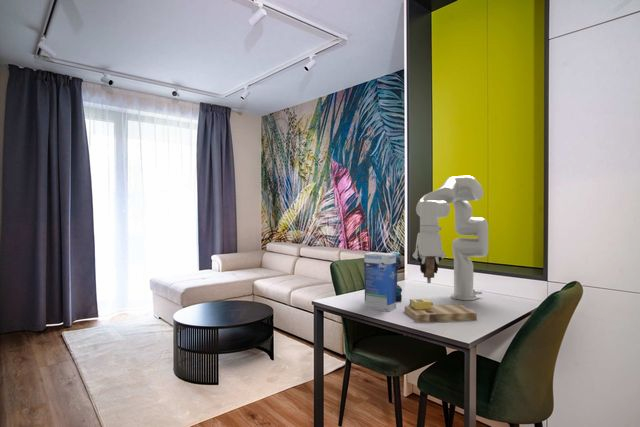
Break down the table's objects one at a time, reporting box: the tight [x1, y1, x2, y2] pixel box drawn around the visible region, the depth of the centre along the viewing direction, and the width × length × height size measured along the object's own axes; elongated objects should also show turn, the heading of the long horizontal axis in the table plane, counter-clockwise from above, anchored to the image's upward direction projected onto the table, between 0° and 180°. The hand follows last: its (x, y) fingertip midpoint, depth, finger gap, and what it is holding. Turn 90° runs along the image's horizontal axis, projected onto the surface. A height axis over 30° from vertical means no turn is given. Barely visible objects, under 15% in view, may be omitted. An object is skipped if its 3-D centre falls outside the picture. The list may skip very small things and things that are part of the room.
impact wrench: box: [388, 250, 403, 303], centre depth 185 cm, size 8×23×25 cm, turn 174°
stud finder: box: [410, 298, 432, 309], centre depth 158 cm, size 7×5×3 cm
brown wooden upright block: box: [423, 257, 435, 284], centre depth 152 cm, size 4×4×10 cm
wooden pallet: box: [404, 304, 478, 323], centre depth 155 cm, size 26×15×3 cm, turn 97°
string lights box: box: [363, 251, 397, 312], centre depth 168 cm, size 13×8×26 cm, turn 52°
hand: (429, 272), depth 152 cm, fingers closed on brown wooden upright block, 4 cm apart
